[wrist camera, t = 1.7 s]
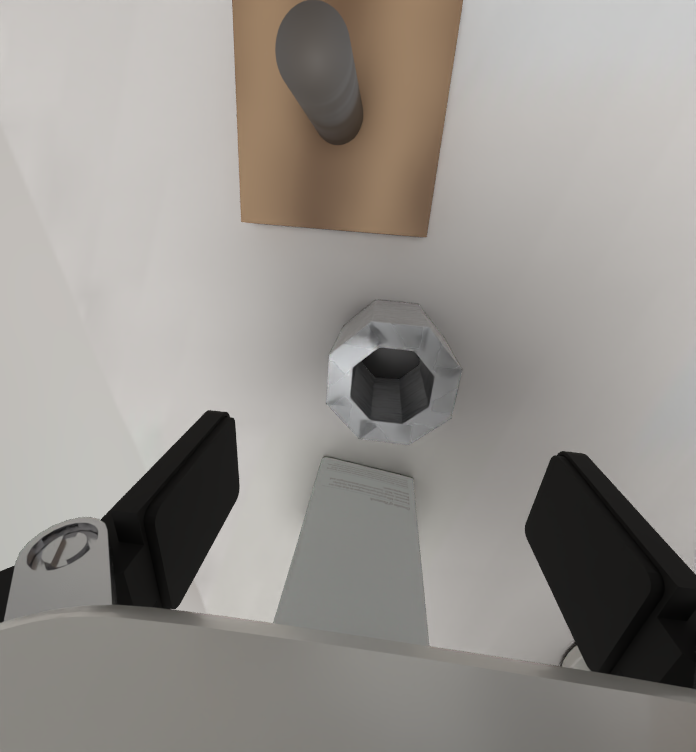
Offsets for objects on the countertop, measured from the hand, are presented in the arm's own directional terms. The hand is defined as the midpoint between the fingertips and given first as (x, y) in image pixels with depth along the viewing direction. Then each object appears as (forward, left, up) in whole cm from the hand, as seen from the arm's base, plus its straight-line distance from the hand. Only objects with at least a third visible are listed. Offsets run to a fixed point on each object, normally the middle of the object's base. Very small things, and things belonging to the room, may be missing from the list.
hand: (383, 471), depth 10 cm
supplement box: (+1, +13, -13) cm, 19 cm away
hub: (0, 0, -13) cm, 13 cm away
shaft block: (+4, -12, -13) cm, 18 cm away
